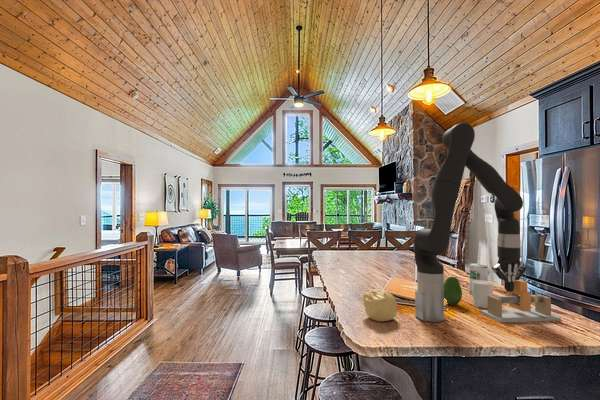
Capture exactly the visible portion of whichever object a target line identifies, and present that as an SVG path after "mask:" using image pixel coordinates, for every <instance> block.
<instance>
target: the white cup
mask: <svg viewBox="0 0 600 400" xmlns="http://www.w3.org/2000/svg"><path fill="white" fill-rule="evenodd" d="M472 292H473V294H472V301H473V303H472V304H473V306H475V307H478V308H482V309H488V296H490V295H493V294H494V282H492V281H489V280H488V281H483V280H473V281H472ZM493 296H494V295H493Z"/></svg>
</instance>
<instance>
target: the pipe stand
mask: <svg viewBox="0 0 600 400" xmlns="http://www.w3.org/2000/svg"><path fill="white" fill-rule="evenodd" d="M509 303H520V295H519V296H509V295H499V296H498V295H497V296H496V295H495V296H494V295H490V296H488V308H487V309H480V310H479V314H481V315H484V316H486V317H488V318H490V319H492V320H495V322H496V321H497V322H499V323H522V322H525V323H526V322H527V323H528V322H529V323H530V322H553V321H554V322H555V321H558V322H559V321H562V320H561V317H560V316H557V315H555V314H552V298H551V297H549V296H545V295H543V294H540V293H539V294H536V293H535V294H531V304H535V305H534V307H535V308H531V311H525V312H523V311H521V310H518V309H516V308H514V309H513V308H512V309H511V308H510V309H509V308H507V309H505V308H504V309H503V304H509Z"/></svg>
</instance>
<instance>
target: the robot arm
mask: <svg viewBox="0 0 600 400" xmlns="http://www.w3.org/2000/svg"><path fill="white" fill-rule="evenodd" d="M475 135H476V131H475V129H474V127H473V126H472V125H471V124H470V123H469V122H460V123H457V124H454V125H453V126H451V128H449V129H447V130H446V131H445V132H444V133H443V135H442V139H441V140H442V143H443V145H444V147H445V148H446V149H447V150H448V152H447V155H446V158H445V159H444V162H443V163H442V165H441V166H440V168H439V170H438V172H437V174H436V176H435V178H434V181H433V186H432V189H431V201H432V205H433V208H434V218H433V219H434V220H433V223H432V227H431V228H421V229H419V230H418V231H417V232H416V234H415V236H414V242H413V243H414V244H413V246H414V261H415V266H416V270H417V271H416V273H417V275H416V276H417V277H416V278H417V279H416V280H417V285H416V286H417V288H416V289H417V290H416V289H415V292H414V296H415V297H414V303H415V304H414V308H415V309H414V313H415V315H414V316H415V317H417V319H420V320H421V321H422V322H432V323H439V322H440V323H441V322H444V320H445V300H444V283H445V282H444V281H445V275H444V274H445V273H444V272H445V271H444V270H445V269H444V265H443V264H442V263H441V262H440V261H439V259H438V258H437V257H436V256H440V255H443V254H444V253H445V252H446V251H447V249H448V246H449V243H450V237H451V231H452V230H451V229H452V223H453V217H454V212H455V208H456V204H457V200H458V197H459V193H460V190H461V189H460V188H461V186H462V180H463V176H464V172H465V168H467V169H468V170H469V172H470V173H471V174H472V175H473V176H474V177H475V178H476V179H477V180H478V182H479V183H480V185H481V186H482V188H483V189H484V190H485V191H486V192H487V193H488V194H490V195H493V196H494V197H495V200H494V204H493V205H494V207H493V208H494V211H495V216H496V220H497V239H496V240H497V243H496V244H497V247H496V248H497V250H496V251H497V255H496V256H497V259H498V260H497V264H496V265H494V266H493V265H492V266H491V269H492V271H493V273H495V274H496V276H497V277H498V279H500V280H501V281H502V280H503V282H504V285H503V286H504V290H505V291H506V292H508V293H509V292H513V290H514V282H515V280H521V278H522V276H523V274H524V273H525V272H526V270H527V267H526V266H523V265H522V263H521V260H520V259H521V258H522V248H521V247H522V245H521V243H522V241H521V235H520V233H521V229H520V226H521V225H520V221H519V220H518V219H517V218H516V217H515V212H519V211H520V210H522V208H523V206H524V199H523V198H522V197H521V195H520V194H519V193H518V192H517V190H515V189H514V188H513V187H512V186H510V185H509V184H508V183H507V182H506V181H505V180H504V179H503V177H502V176H501V175H500V174H499V172H498V171H497V169H496V168H495V167H493V166H492V165H491V164H490V163H489V162H487V161H486V160H484V159H483V158H481V157H480V156H478V155H477V154H476V153H475V152H474V151H473V150H472V146H473V144H474V141H475V139H476V138H475V137H476V136H475Z"/></svg>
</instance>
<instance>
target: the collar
mask: <svg viewBox="0 0 600 400" xmlns="http://www.w3.org/2000/svg"><path fill="white" fill-rule="evenodd" d="M531 295H532V294H531V292H530V291H528V281H525V280H521V279H519V280H515V282H514V290H513V292H508V296H520V303H508V305H509V307H511V308H512V309H513V308H514V309H518V310H521V311H523V312H525V311H531V309H532V308H531V306H532V305H531V304H532V303H531Z"/></svg>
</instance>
